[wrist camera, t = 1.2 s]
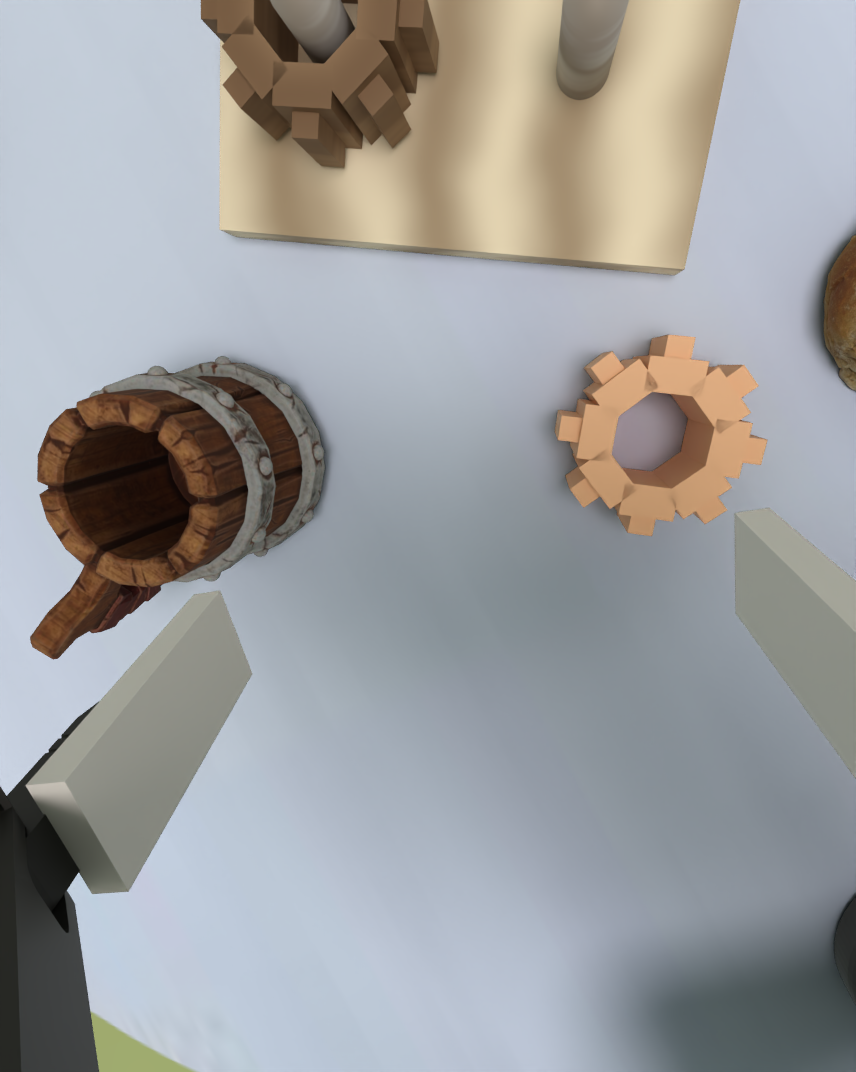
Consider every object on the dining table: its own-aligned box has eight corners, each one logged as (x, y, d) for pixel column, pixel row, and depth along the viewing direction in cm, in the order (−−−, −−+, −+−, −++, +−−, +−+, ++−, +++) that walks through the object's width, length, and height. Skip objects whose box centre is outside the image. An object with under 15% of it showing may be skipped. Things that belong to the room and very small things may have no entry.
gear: (756, 349, 32) (796, 346, 27) (712, 525, 34) (742, 551, 30) (570, 330, 33) (577, 324, 28) (542, 502, 36) (544, 523, 31)
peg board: (754, -116, 27) (844, -308, 19) (674, 275, 31) (721, 246, 24) (240, -121, 30) (141, -289, 22) (236, 236, 34) (153, 200, 27)
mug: (377, 417, 35) (246, 511, 22) (284, 586, 42) (141, 734, 29) (209, 306, 35) (-24, 333, 22) (143, 493, 42) (-66, 600, 29)
